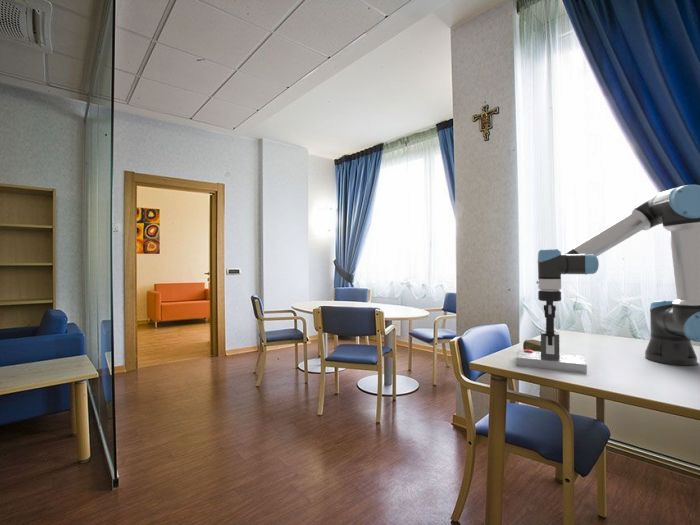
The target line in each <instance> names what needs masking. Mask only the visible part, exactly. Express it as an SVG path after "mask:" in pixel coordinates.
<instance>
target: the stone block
mask: <svg viewBox="0 0 700 525" xmlns="http://www.w3.org/2000/svg"><path fill="white" fill-rule="evenodd" d="M522 346H523V347H522V350H524V349H527V350H533V351H538V352H541V340H536V339H525V340H524V341H523V343H522Z"/></svg>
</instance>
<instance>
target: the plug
mask: <svg viewBox="0 0 700 525" xmlns="http://www.w3.org/2000/svg"><path fill="white" fill-rule="evenodd" d="M544 334H546V330H545V331H543V330H541V331H540V341H541V357H543V358H553V359H560V354H561V353H560V332H559V331H556V332H554V354H546V336H544Z"/></svg>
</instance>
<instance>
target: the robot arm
mask: <svg viewBox="0 0 700 525" xmlns="http://www.w3.org/2000/svg"><path fill="white" fill-rule="evenodd" d="M659 225H662V226H663V229H665V230H666V231H668V232H669V239H670V249H671V256H672V257H671V258H672V266H673V275H674V285H675V290H676V292H675V293H676V299H675V298H674V300H653V301H652V302H651V303H650V307H649V308H650V309H649V312H650V313H649V314H650V315H649V317H650V318H649V319H650V340H649V342H648V343H647V346H646V348H645V350H644V351H645V352H644V358H646V359H647V360H650V361H652V362H657V363H662V364H666V365H667V364H668V365H674V366H675V365H676V366H695V365H698V356H697V354H696V352H695V349H694V346H693V344H692V342H696V343H700V185H699V184H686V185H681V186H677V187H673V188H670V189H668V190H664V191H661V192H658V193H655V194H654V195H652V196H650V197H649V198H647V199H645V200H644V201H643V202H640V204H638V205H637V206H635V207H633V208H632V209H630V210H629V211H628V214H627V215H626V216H624V217H622V218H620V219H619V220H617V221H615V222H614V223H612V224H610V225H609V226H607V227H605V228H603V229H601V230H600V231H599V232H597V233H595V234H594V235H592V236H591V237H589V238H587V239H585V240H584V241H582V242H580V243H579V244H577V245H576V246H574V247H572V248H571V249H569V250H568V251H565V252H564V253H562V250H561V249H559V248H545V249H544V248H543V249H540V250H539V251H538V254H537V277H538V279H537V281H536V284H538V287H537V288H538V293H537V295H538V298H537V299H538V300H539V301H540V302H546V303H545V304H544V305H543V311H544V318H545V325H546V326H545V331H546V334H544V336H546V354H554V332H557V331H556V330H555V318H556V310H557V306H556V305H554V302H561V300H562V291H560V290H562V275H595V274H596V273H597V272H598V271H599V267H600V266H599V265H600V264H599V258H598V257H599V256H600V255H602V254H603V253H605V252H607V251H609V250H610V249H612V248H614V247H616V246H617V245H619V244H621V243H622V242H624V241H626V240H628V239H630V238H631V237H633V236H634V235H636V234H637V233H640V232H641V231H648V230H650V229H652V228H654V227H656V226H659ZM691 341H692V342H691Z"/></svg>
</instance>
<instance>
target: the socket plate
mask: <svg viewBox="0 0 700 525" xmlns="http://www.w3.org/2000/svg"><path fill="white" fill-rule="evenodd" d="M559 354H560V359H553V358H543V357H541V352H538V351H533V350H527V349H524V350H523V349H518V352H517V355H516V366H518V365H519V367H528V368H537V369H545V370H553V371H554V370H555V371H561V372H563V371H564V372H570V373H571V372H573V373H581V374H588V372H587V371H588V370H587V369H588V368H587V367H588V365H587V362H586V359H585V357H584V355H577V354H567V353H566V354H565V353H559Z"/></svg>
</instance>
